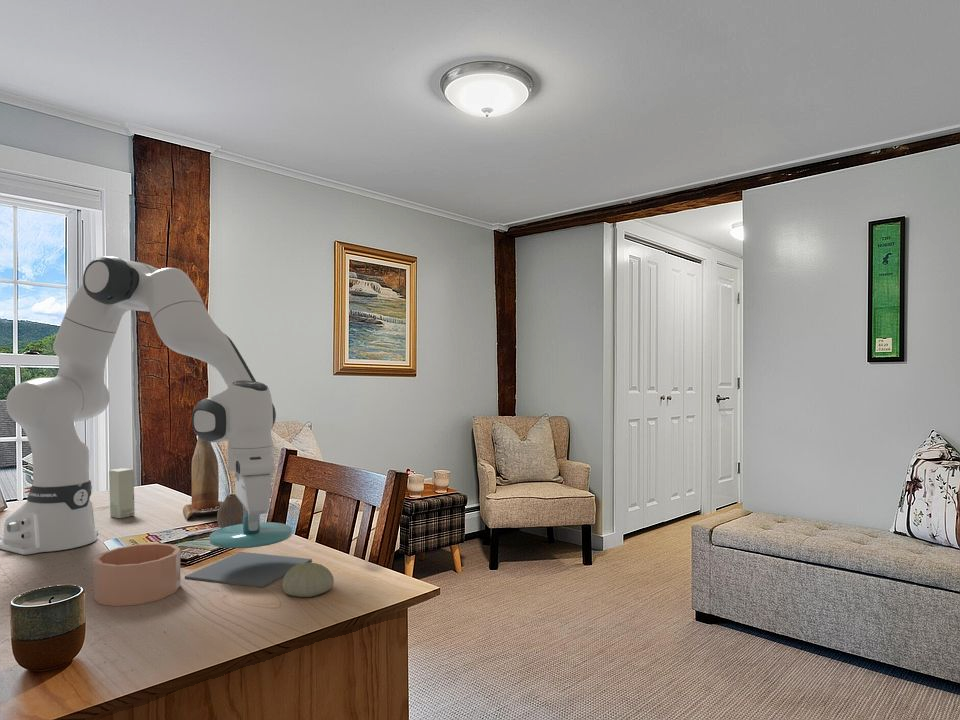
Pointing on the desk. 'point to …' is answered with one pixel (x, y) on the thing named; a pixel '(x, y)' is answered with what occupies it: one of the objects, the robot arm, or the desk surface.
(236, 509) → the vase
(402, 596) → the desk surface
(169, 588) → the bowl
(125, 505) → the box
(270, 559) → the mat
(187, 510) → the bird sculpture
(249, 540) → the lid
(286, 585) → the sea urchin shell
